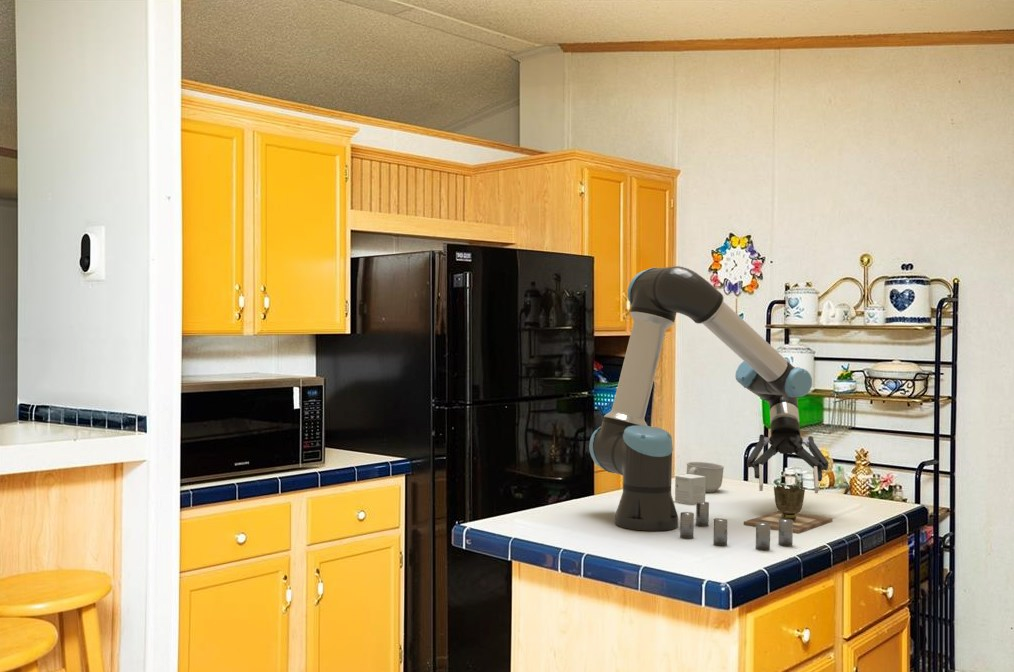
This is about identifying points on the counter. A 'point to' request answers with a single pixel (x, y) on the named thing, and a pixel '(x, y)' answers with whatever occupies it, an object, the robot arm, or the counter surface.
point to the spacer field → (722, 525)
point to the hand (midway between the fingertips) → (788, 489)
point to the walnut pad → (799, 524)
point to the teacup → (707, 473)
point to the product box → (690, 488)
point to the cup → (789, 500)
